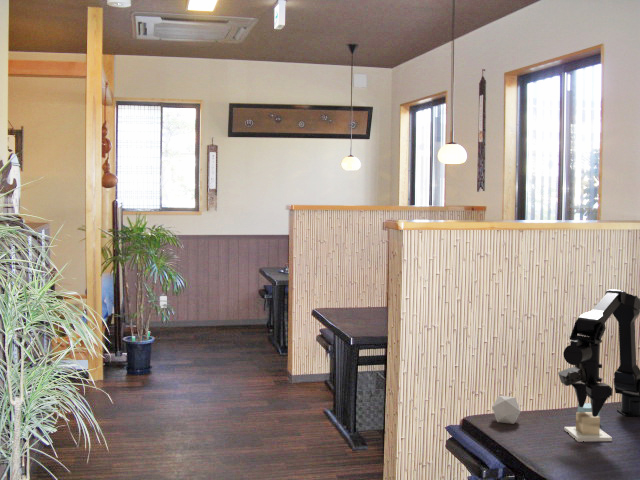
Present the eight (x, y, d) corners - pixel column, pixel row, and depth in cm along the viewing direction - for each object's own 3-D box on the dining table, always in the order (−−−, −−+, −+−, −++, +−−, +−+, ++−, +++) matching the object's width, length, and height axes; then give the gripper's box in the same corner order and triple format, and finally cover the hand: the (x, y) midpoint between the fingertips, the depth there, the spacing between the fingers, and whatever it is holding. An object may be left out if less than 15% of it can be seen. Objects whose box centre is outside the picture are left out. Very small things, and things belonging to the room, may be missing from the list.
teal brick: (577, 418, 223) (577, 403, 223) (593, 418, 223) (593, 403, 223) (584, 424, 218) (584, 408, 218) (599, 423, 218) (600, 408, 218)
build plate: (564, 430, 212) (564, 426, 212) (596, 429, 213) (596, 425, 213) (578, 441, 202) (578, 437, 202) (611, 440, 203) (612, 436, 203)
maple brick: (575, 428, 210) (576, 412, 210) (592, 428, 210) (592, 412, 210) (582, 434, 205) (583, 417, 205) (599, 434, 205) (599, 417, 205)
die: (523, 421, 222) (508, 393, 227) (528, 415, 215) (512, 387, 219) (499, 431, 222) (485, 403, 226) (503, 426, 214) (489, 397, 218)
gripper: (550, 352, 215) (549, 402, 216) (575, 367, 196) (573, 422, 197) (585, 352, 215) (584, 402, 216) (614, 366, 197) (612, 421, 198)
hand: (587, 411), depth 207 cm, fingers open, 9 cm apart
